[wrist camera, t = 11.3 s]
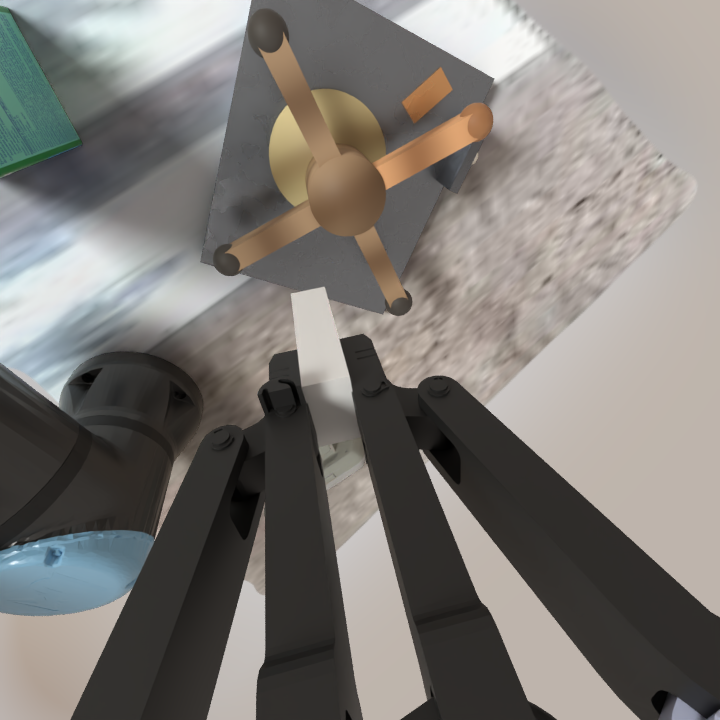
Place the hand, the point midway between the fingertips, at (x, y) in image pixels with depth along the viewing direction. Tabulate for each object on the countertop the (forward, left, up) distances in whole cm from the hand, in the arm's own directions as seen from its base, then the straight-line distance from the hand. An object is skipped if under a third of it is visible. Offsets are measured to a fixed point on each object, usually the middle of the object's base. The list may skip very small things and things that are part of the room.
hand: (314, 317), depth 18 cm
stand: (+2, -3, -26) cm, 26 cm away
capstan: (+2, -3, -24) cm, 24 cm away
